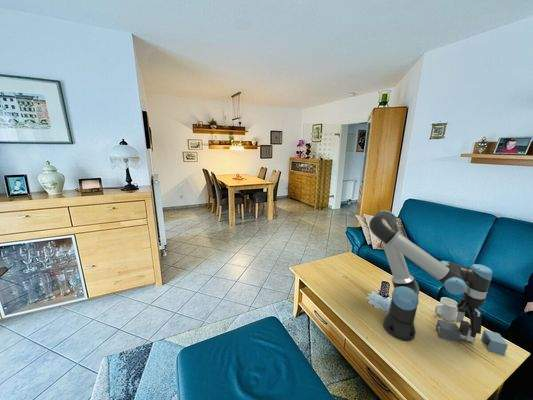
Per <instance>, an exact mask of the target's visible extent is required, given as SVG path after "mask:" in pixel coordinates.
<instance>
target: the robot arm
mask: <svg viewBox="0 0 533 400" xmlns="http://www.w3.org/2000/svg"><path fill="white" fill-rule="evenodd" d="M397 222H398V221H397V216H396V215H395V214H394V213H393V212H391V210H390V211H389V210H380V211H378V212H376V213H375V214H374V216H373V217H372V218H370V221H369V223H368V224H369V225H368V228H369V230H370V232H371V233H372V234H373V235H374V236H375V237H376V238H377V239H378V240H380V241H381V243H382V246H383V250H384V252H385V255H386V258H387V262H388V266H389V267H390V270H391V274H392V277H391V283H392V287H393V290H392V293H391V298H390V299H391V300H390V305H389V310H388V313H387V314H386V315H385V317H384V319H383V328H384V330H385V331H386V332H387V333H388V334H389V335H390V336H392V337H393V338H396V339H398V340H400V341H404V342H410V341H413V340H414V339H415V337H416V333H417V332H416V327H415V323H414V322H415V319H416V314H417V309H418V306H419V302H420V301H419V300H420V299H419V295H420V287H419V284H418V282H417V281H416V280H415V277H414V276H413V275H412V274H410V272H409V271H410V270H409V269H408V265H407V262H406V259H405V257H406V258H408V259H409V260H410V261H412V263H415V265H417V266H419V267H420V268H421V269H422V270H424V271H425V272H426V273H428V274H429V275H430V276H432V277H433V278H434V279H436V280H437V281H439V282H440V283H441V284H443V287H444V288H445V290H446V291H447V292H448V293H449V294H452V295H457V296H460V295H462V294H463V295H462V296H461V299H460V300H459V301H458V302H457V303H458V304H457V307H458V311H457V315H456V318H455V323H458V324H460V323H461V320H463V321H464V318H465V315H466V314H465V313H466V311H467V312H468V313H467V314H468V315H469V323H470V326H471V329H470V328H469V331H468V335H467V338H466V341H469V342H471V343H474V340H475V341H476V335H477V334H478V335H481V334H482V317H483V313H482V312H480V311H479V308H480V307H483V306H484V303H485V300H486V297H487V294H488V290H489V287H490V285H491V281H492V276H493V270H492V269H491V268H490V267H488V266H486V265H483V264H480V263H479V264H477V263H474V264H472V265H471V266H465V265H462V264H458V263H455V262H451V261H446V260H438V259H437V258H435V257H434V256H432V255H431V254H430V253H428V252H427V251H425V250H424V249H422V248H421V247H420V246H418V245H417V244H415V243H413V242H412V241H411V240H410V239H408V238H407V237H405V236H404V235H402V234H401V233H400V230H399V229H398V226H397Z"/></svg>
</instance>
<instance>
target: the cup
mask: <svg viewBox="0 0 533 400" xmlns="http://www.w3.org/2000/svg"><path fill="white" fill-rule="evenodd" d="M458 303H459V302H457V301H456V300H455V299H452V298H449V297H446V296H445V297H444V296H443V297H440V301H439V303H438V304H436V306H435V307H434V313H435V314H436V315H438V316H439V317H440V318H441V319H442V320H443V321H447V322H454V321H456V317H457V313H458V307H457V304H458Z"/></svg>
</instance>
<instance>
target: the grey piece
mask: <svg viewBox="0 0 533 400" xmlns="http://www.w3.org/2000/svg"><path fill="white" fill-rule="evenodd" d="M459 324H460V325H459V327H458V328H459V330H460V332H461V336H460V339H461V340H462V339H463V340H466V338H467V335H468V331H469V328H470V329H471V326H470V321H468V320H464V319H463V320H461V323H459ZM437 330H438V331H437ZM437 330H436V331H437V333H438V334H440V331H441V327H440V326H438V327H437ZM466 341H467V340H466ZM474 342H476V339H475V340H474ZM474 342H473V343H474Z"/></svg>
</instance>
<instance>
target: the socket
mask: <svg viewBox="0 0 533 400" xmlns="http://www.w3.org/2000/svg"><path fill="white" fill-rule="evenodd" d="M480 341H481V343H486V344H488V346H487V351H488V352H490V353H494V354H498V355H500V356H501V355H502V356H505V354H506V351H507V349H508V346H509V344H508V343H507V342H506V340H505V339H504V337H502V335H501V334H500V333H498V332H494V331H491V330H487V329H484V330H483V331H482V335H481V338H480Z"/></svg>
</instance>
